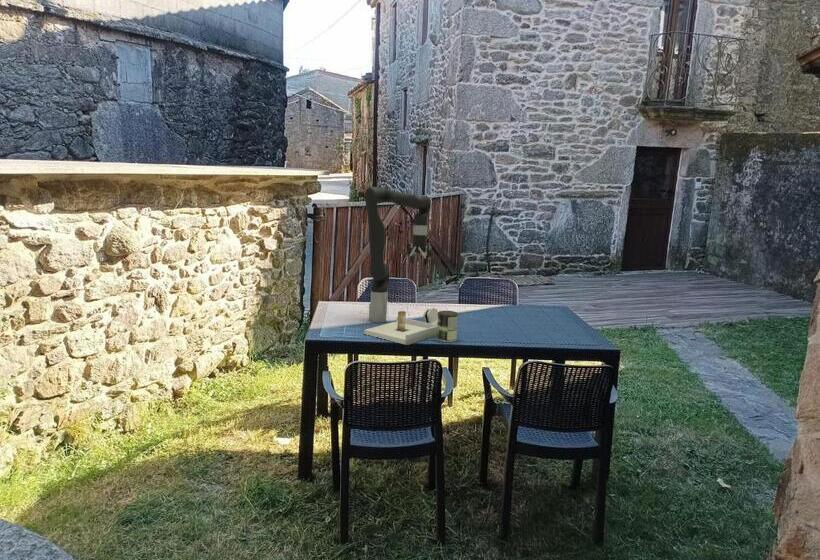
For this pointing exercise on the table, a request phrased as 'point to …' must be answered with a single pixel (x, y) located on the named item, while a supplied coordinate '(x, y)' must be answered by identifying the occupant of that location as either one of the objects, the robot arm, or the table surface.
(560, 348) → the table surface
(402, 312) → the gear shaft
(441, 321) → the coffee can
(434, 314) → the hinge
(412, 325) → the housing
